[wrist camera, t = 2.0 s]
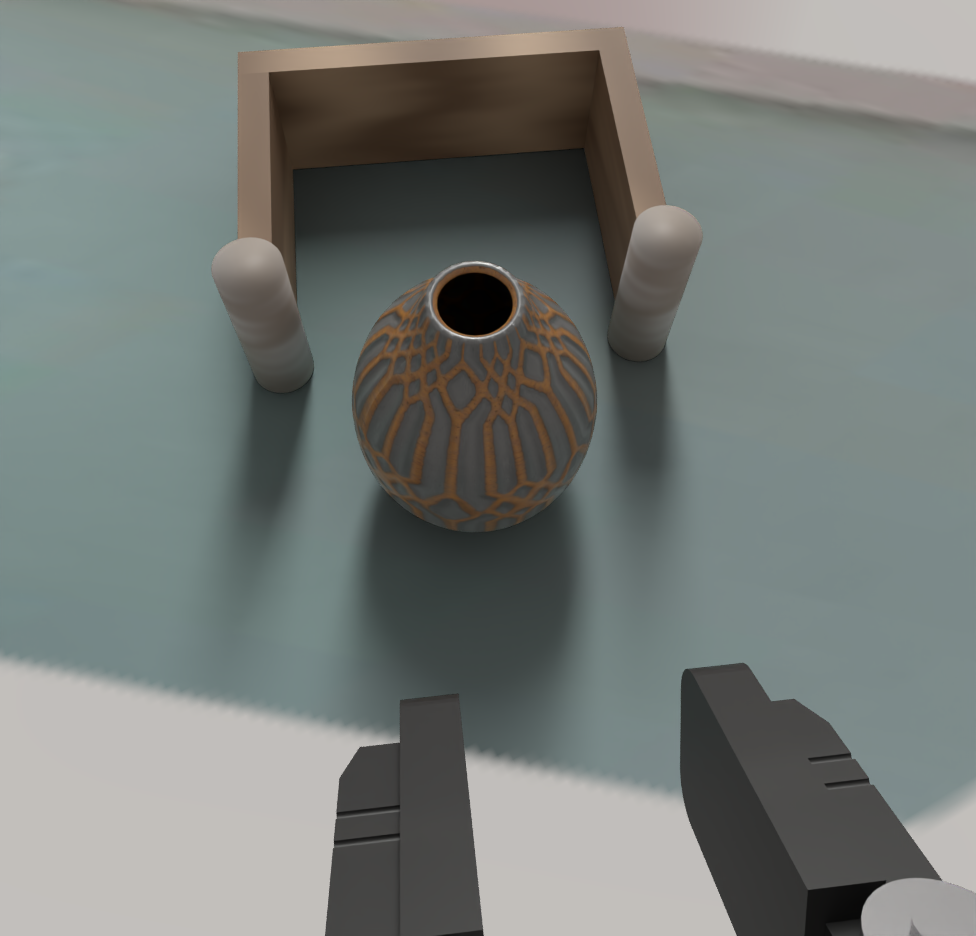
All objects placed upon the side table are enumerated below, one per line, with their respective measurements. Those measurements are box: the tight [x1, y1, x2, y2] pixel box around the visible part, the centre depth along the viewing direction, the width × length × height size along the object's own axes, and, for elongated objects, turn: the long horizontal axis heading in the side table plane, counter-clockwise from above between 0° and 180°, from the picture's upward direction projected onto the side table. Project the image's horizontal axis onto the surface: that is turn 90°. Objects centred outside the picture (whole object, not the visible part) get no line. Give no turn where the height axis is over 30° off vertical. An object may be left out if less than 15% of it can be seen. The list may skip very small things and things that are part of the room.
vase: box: [352, 261, 597, 532], centre depth 26 cm, size 7×7×9 cm
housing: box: [211, 27, 703, 393], centre depth 30 cm, size 14×10×6 cm
